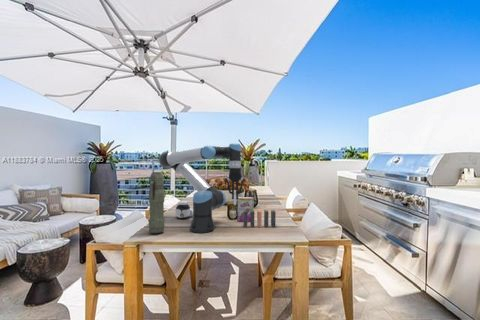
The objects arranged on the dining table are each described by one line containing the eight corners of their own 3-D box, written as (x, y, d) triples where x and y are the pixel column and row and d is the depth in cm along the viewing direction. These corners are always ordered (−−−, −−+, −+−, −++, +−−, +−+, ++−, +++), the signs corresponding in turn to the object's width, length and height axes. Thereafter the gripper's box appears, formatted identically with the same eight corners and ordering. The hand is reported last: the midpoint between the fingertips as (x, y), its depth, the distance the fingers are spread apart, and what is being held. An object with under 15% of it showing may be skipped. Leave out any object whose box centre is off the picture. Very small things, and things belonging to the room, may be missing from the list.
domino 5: (272, 227, 158) (272, 211, 158) (270, 225, 163) (271, 210, 163) (275, 227, 158) (275, 211, 158) (273, 225, 163) (274, 209, 163)
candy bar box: (237, 221, 172) (237, 197, 172) (237, 219, 177) (237, 196, 177) (253, 222, 171) (253, 198, 171) (253, 220, 176) (253, 197, 176)
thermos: (144, 233, 143) (144, 172, 143) (153, 228, 154) (154, 171, 154) (159, 234, 142) (159, 173, 142) (167, 228, 153) (167, 171, 153)
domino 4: (265, 227, 158) (265, 211, 158) (264, 225, 163) (264, 210, 163) (268, 227, 158) (268, 211, 158) (267, 225, 163) (267, 210, 163)
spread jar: (174, 218, 180) (174, 202, 179) (182, 215, 190) (182, 200, 190) (188, 219, 176) (189, 203, 176) (196, 216, 187) (196, 200, 187)
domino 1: (244, 227, 157) (244, 211, 157) (243, 225, 162) (243, 210, 162) (247, 227, 157) (247, 211, 157) (246, 225, 162) (246, 210, 162)
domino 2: (251, 227, 158) (251, 211, 158) (250, 225, 163) (250, 210, 163) (254, 227, 158) (254, 211, 158) (253, 225, 163) (253, 210, 163)
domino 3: (258, 227, 158) (258, 211, 158) (257, 225, 163) (257, 210, 163) (261, 227, 158) (261, 211, 158) (260, 225, 163) (260, 210, 163)
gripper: (224, 167, 155) (224, 205, 155) (245, 167, 156) (245, 205, 156) (224, 167, 163) (224, 203, 163) (244, 167, 163) (244, 203, 163)
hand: (234, 204), depth 159 cm, fingers closed
